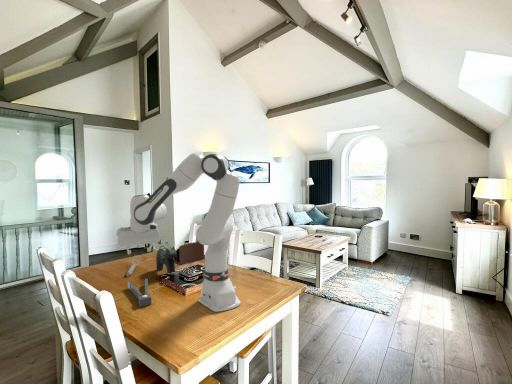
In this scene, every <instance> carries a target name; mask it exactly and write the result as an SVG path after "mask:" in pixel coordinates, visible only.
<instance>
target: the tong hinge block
mask: <svg viewBox="0 0 512 384" xmlns="http://www.w3.org/2000/svg"><path fill="white" fill-rule="evenodd" d="M150 294H151V293H148V294H147V295H145V294H142V296H138V299H137V300H138V306H139V308H143V307H146V306H150V305H152V296H151V295H150Z"/></svg>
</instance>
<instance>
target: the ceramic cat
mask: <svg viewBox="0 0 512 384" xmlns="http://www.w3.org/2000/svg"><path fill="white" fill-rule="evenodd" d="M165 244H167V245H169V243H168V241H167V242H165ZM176 250H177V249H175V246H173V247H172V246H169V247H165V246H164V245H161V246H160V247H159V249H158V250H157V252H156V258H155V259H156V260H155V263H156V270H157V271H159V272H160V271H163V270H164V265H165V268H166V271H167V272H166V273H171V272H175V273H176V265H175V262H174V258H175V257H176Z"/></svg>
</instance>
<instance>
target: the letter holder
mask: <svg viewBox="0 0 512 384" xmlns="http://www.w3.org/2000/svg"><path fill="white" fill-rule="evenodd" d="M175 250H176V257H175V258H174V263H176V264H178V265H181V266H182V265H184V264H189V263H194V262H198V261H203V260H205V245H202V244H200V243H199V242H198V241H194V242H188V243H185V244H182V245H179V247H178V248H177V249H175Z"/></svg>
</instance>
